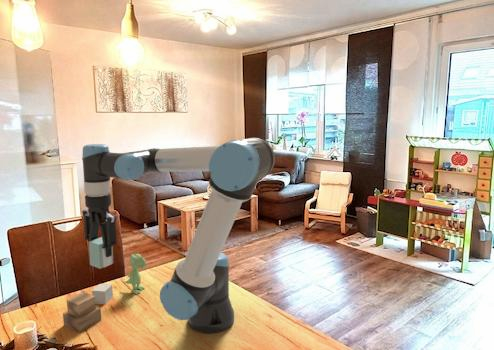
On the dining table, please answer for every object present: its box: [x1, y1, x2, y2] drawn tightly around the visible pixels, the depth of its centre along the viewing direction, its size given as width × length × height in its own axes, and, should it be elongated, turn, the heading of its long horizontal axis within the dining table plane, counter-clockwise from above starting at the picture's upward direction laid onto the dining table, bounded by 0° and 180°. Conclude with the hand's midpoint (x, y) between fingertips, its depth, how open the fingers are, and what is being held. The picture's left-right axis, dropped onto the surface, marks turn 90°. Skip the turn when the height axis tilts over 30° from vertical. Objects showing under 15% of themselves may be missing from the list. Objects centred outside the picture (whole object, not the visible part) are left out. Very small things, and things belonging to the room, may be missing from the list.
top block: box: [66, 291, 97, 318], centre depth 115 cm, size 6×6×4 cm
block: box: [91, 283, 114, 305], centre depth 129 cm, size 5×5×5 cm
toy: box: [122, 253, 147, 295], centre depth 135 cm, size 7×8×15 cm
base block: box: [62, 306, 102, 333], centre depth 115 cm, size 8×8×4 cm
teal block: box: [88, 236, 114, 270], centre depth 114 cm, size 5×5×8 cm
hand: (101, 263), depth 115 cm, fingers closed on teal block, 5 cm apart
